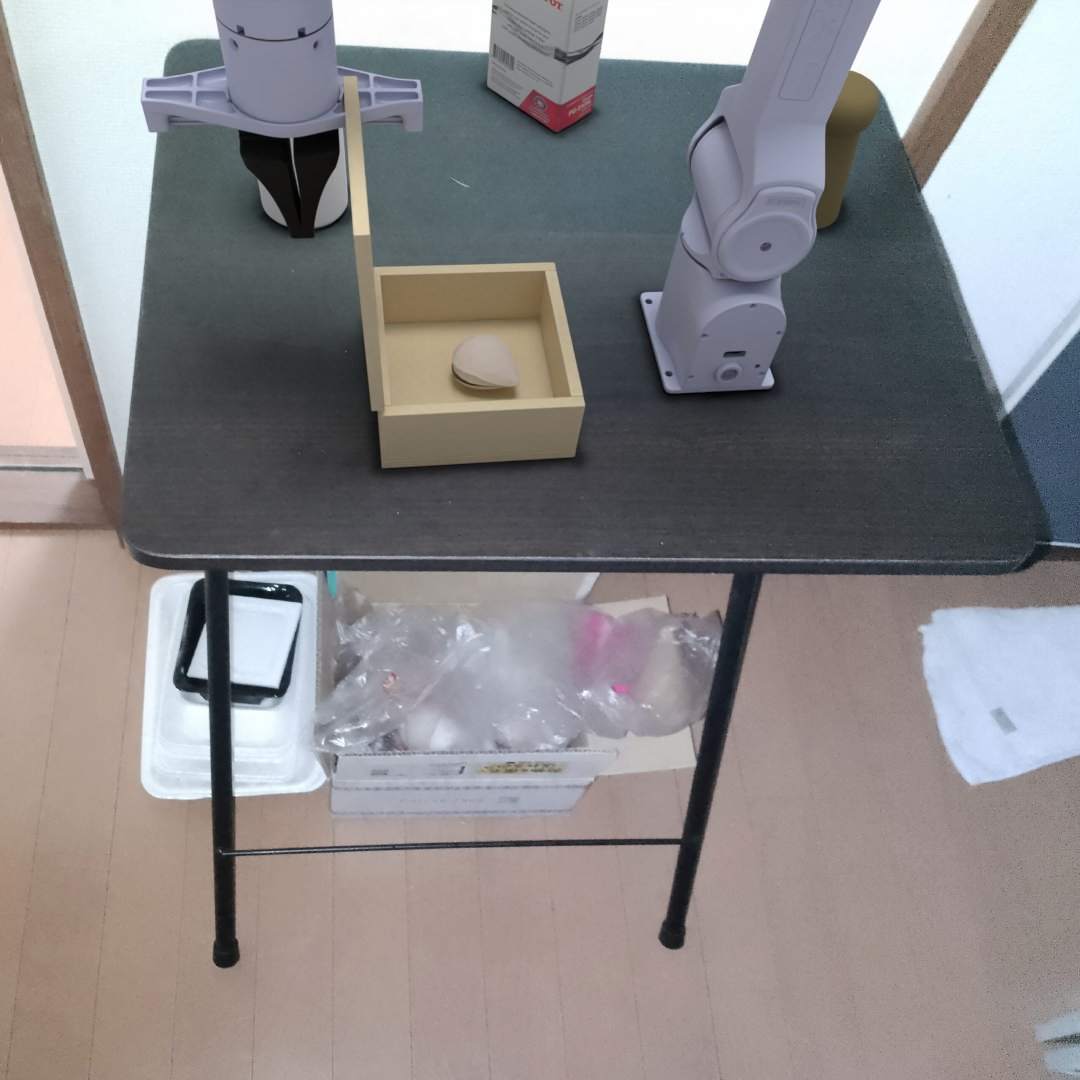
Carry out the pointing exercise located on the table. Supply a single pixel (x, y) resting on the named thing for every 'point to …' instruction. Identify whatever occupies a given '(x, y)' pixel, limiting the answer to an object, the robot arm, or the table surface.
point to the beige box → (454, 409)
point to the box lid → (363, 241)
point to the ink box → (547, 56)
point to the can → (330, 200)
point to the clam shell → (484, 363)
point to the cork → (844, 141)
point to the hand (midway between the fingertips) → (302, 227)
